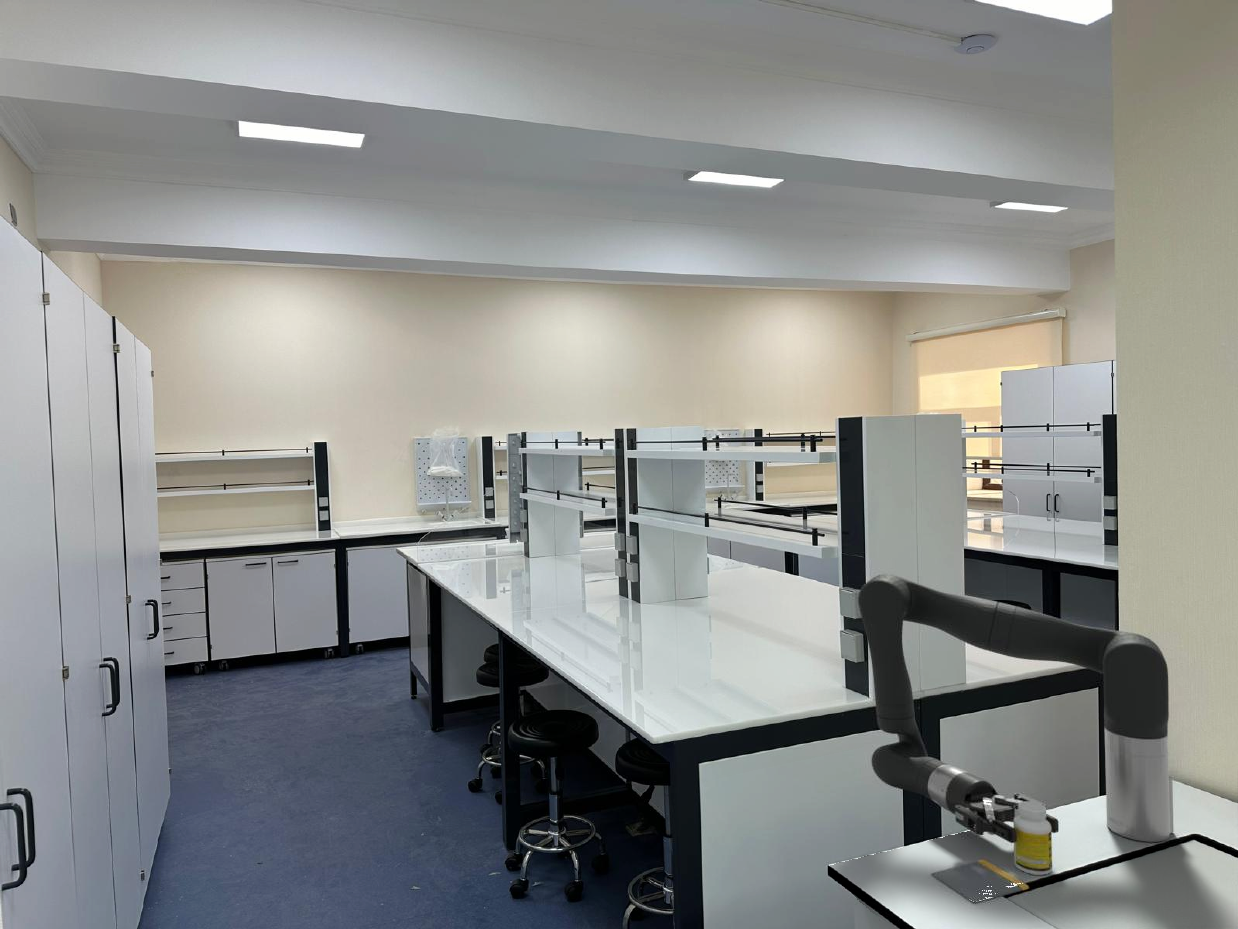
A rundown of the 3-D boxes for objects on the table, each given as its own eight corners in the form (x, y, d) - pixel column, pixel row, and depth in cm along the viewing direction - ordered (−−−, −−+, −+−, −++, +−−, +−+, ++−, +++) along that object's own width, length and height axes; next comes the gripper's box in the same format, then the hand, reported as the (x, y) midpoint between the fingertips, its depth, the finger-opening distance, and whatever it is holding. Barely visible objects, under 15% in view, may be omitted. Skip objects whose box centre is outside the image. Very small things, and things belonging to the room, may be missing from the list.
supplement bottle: (1057, 877, 129) (1055, 814, 129) (1019, 875, 130) (1017, 812, 130) (1046, 860, 134) (1045, 800, 134) (1010, 858, 135) (1008, 798, 135)
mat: (983, 861, 134) (983, 859, 134) (1028, 888, 126) (1028, 886, 126) (931, 875, 131) (931, 872, 131) (974, 903, 122) (974, 900, 122)
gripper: (927, 778, 144) (1000, 816, 129) (992, 765, 149) (1070, 800, 134) (928, 822, 144) (1001, 864, 129) (993, 807, 149) (1071, 846, 134)
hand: (1036, 831), depth 131 cm, fingers open, 8 cm apart
